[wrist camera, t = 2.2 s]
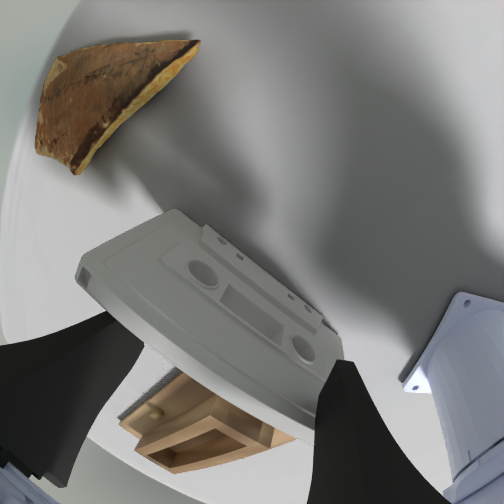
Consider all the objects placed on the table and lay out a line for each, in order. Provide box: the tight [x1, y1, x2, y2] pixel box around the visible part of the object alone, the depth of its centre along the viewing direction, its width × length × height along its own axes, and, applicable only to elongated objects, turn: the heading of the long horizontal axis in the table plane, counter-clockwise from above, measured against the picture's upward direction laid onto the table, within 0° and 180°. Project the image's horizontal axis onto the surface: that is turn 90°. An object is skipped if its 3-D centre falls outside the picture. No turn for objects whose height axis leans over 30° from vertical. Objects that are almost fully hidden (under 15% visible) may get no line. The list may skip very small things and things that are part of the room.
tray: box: [118, 371, 297, 474], centre depth 21 cm, size 11×20×3 cm, turn 141°
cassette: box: [75, 209, 344, 446], centre depth 12 cm, size 12×2×8 cm, turn 53°
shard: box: [35, 40, 201, 175], centre depth 12 cm, size 11×8×2 cm
